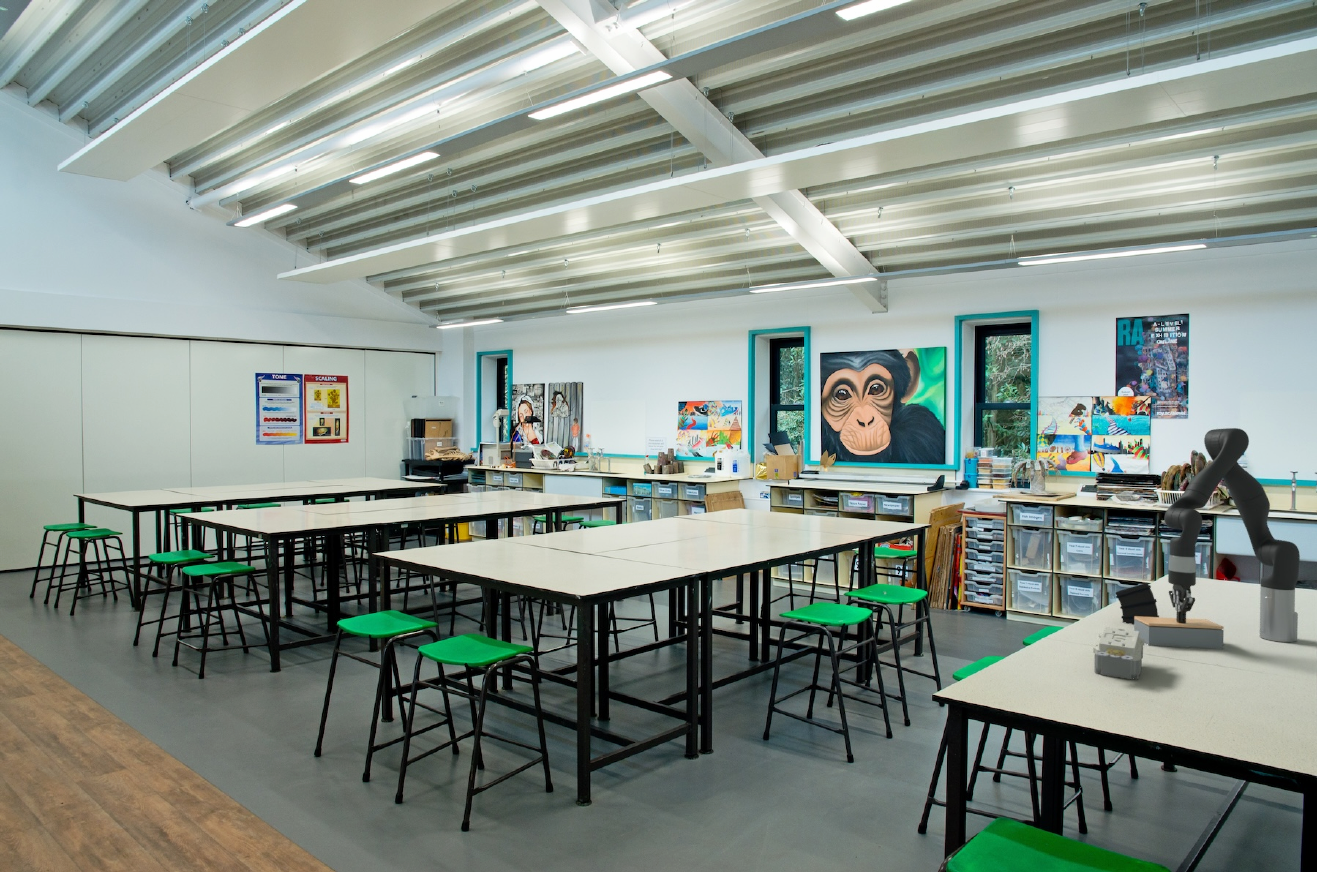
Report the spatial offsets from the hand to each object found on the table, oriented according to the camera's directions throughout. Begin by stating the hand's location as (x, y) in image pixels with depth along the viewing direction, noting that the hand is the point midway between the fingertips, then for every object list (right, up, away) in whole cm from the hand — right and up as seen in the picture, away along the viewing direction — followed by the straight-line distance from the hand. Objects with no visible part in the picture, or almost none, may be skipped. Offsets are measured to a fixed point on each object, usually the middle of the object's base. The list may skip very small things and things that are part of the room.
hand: (1181, 622), depth 263 cm
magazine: (+2, -7, +28) cm, 29 cm away
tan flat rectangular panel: (0, -1, +2) cm, 2 cm away
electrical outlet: (-37, -7, -29) cm, 48 cm away
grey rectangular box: (0, -7, +2) cm, 7 cm away
